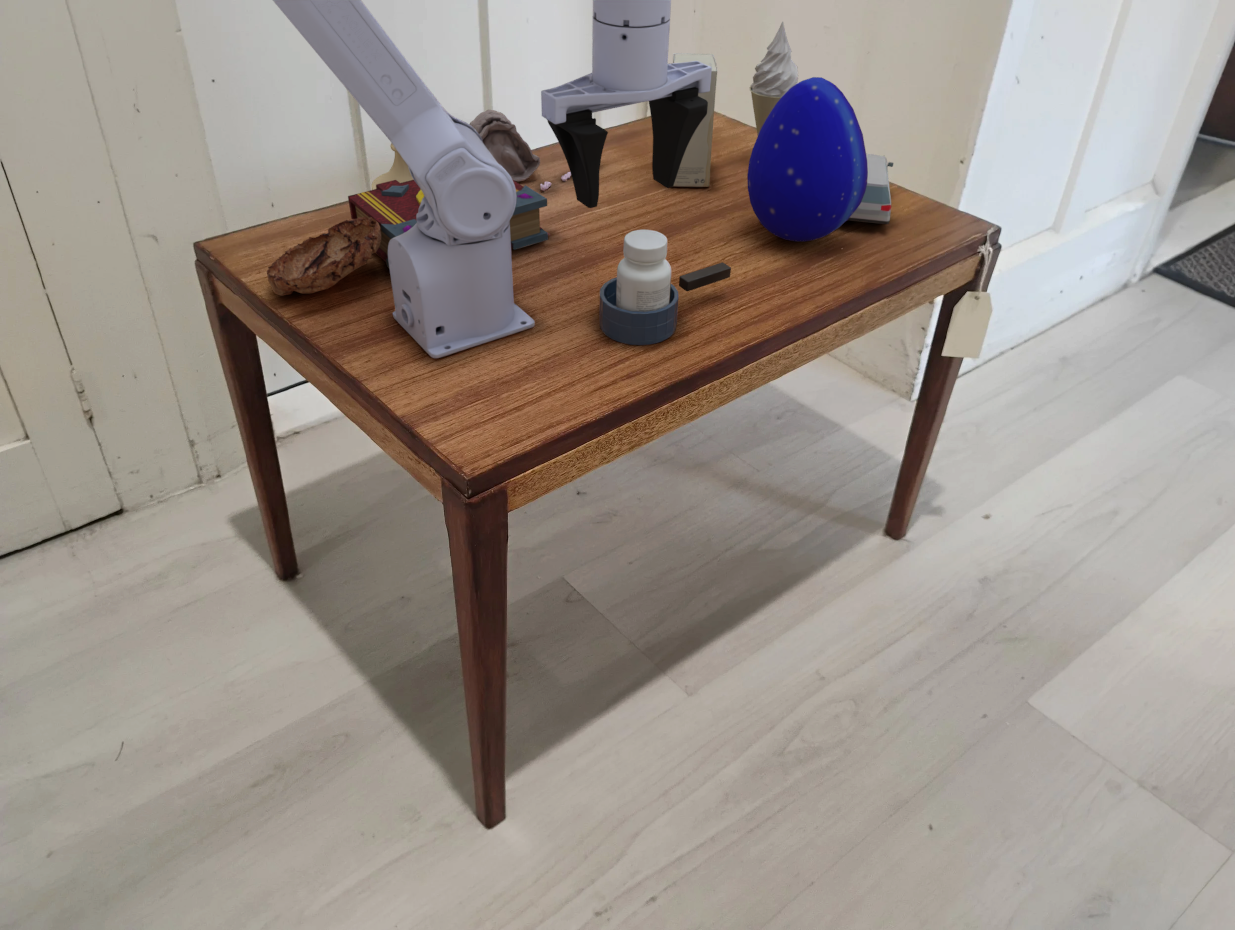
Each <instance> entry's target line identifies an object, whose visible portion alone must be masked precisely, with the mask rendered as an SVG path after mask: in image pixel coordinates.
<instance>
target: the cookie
mask: <svg viewBox="0 0 1235 930" xmlns="http://www.w3.org/2000/svg"><path fill="white" fill-rule="evenodd" d="M308 237H309V238H307V239H305V240H303V241H302V242H301V243H297V244H296V245H294V246H293V247H289V248H288V250H285V251H284V253H283V254H282V255H281V256H279V257H278V258H277V259H276V260H275V261H274V262H272V264H271V265H270V266H268V269H267V270H266V276H267V277H266V278H267V279H268V283H269V285H270V287H271V289H272V291H273V293H274V294H275V295H278V296H288V295H292V294H293V292H297V293H300V294H303V295H304V294H314V293H317V292H322V291H324V290H328V289H329V288H331V287H333V286H335V285H336V284H337V283H339V281H341V280H342V279H344V278H346V276H348V275H350V273H352V272H354V271H356V270H357V269H359V268H362V267H364V266H366V264H367V263H368V261H367V260H371V259H372V255H374V254H376V251H377V250H378V248H379V246H380V242H381V231H380V226H379V224H378V222H377V221H376V220H375V219H373V218H372V217H370V218H368V217H366V216H364V217H359V218H357V219H351V218H350V219H346V220H343V221H340V222H338V223H336V224H334V225H333V226H331V227H329V228H328V229H327V233H321V234H319V235H318V236H315V237H311V236H308Z"/></svg>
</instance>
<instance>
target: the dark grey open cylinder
mask: <svg viewBox="0 0 1235 930" xmlns="http://www.w3.org/2000/svg"><path fill="white" fill-rule="evenodd" d="M616 292H617V276H615V277H613V278H610V279H609V280H608V281H605V282H604V283H603V285H602V286H601V287H600V289H599V309H598V310H599V311H598V312H599V313H598V314H599V315H598V316H599V317H598V319H599V320H598V321H599V322H598V323H599V329H600V330H601V332H602V333H603V334H604V335H605V336H606V337H607V338H609V339H611V340H613V341H616V342H617V343H621V344H624V345H630V346H631V345H632V346H647V345H648V346H649V345H655V344H659V343H661V342H663V341H665V340H668V339H669V338H670V337H672V335H674V334H675V332H676V330H677V325H678V313H679V311H678V310H679V297H680V296H679V295H680V294H679V291H678V289H677V287H676V286H675V285H674V284H672V283H671V286H670V301H669V305H667V306H666V307H664V308H661V309H658V310H654V311H646V312H639V311H629V310H624V309H621V308H618V307H616Z"/></svg>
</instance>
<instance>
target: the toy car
mask: <svg viewBox="0 0 1235 930" xmlns="http://www.w3.org/2000/svg"><path fill="white" fill-rule="evenodd" d="M866 156H867V166H868V179H867V187H866V191H865V194H864V196H863V199H862V201H861V204H860V205H859V206H858V208H857V209H856V211H855V212H854V213H853V214H852V215H851V216H850V217H849V219H848V220H847V221H851V222H862V223H871V224H879V225H881V224H882V225H889V224H890V220H891V211H892V197H891V189H890V187H891V186H890V180H889V179H890V177H889V170H888V167H890V168H892V167H894V162H893V161H888V159H887V157H886V156H885V155H880V154H874V153H867V152H866Z"/></svg>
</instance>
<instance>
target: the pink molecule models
mask: <svg viewBox="0 0 1235 930" xmlns="http://www.w3.org/2000/svg"><path fill="white" fill-rule="evenodd" d="M563 174H564V175H561V176H560V180H561V181H562V182H567V181H568V179H571V177H572V176H571V172H570V171H567V172H566V173H563ZM552 184H553V183H552V182H550V181H546V180H545V181H544V183H540V184H539V186H540V190H541V191H542V192H545V191H546V190H548V189H549V187H551V186H552Z"/></svg>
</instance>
